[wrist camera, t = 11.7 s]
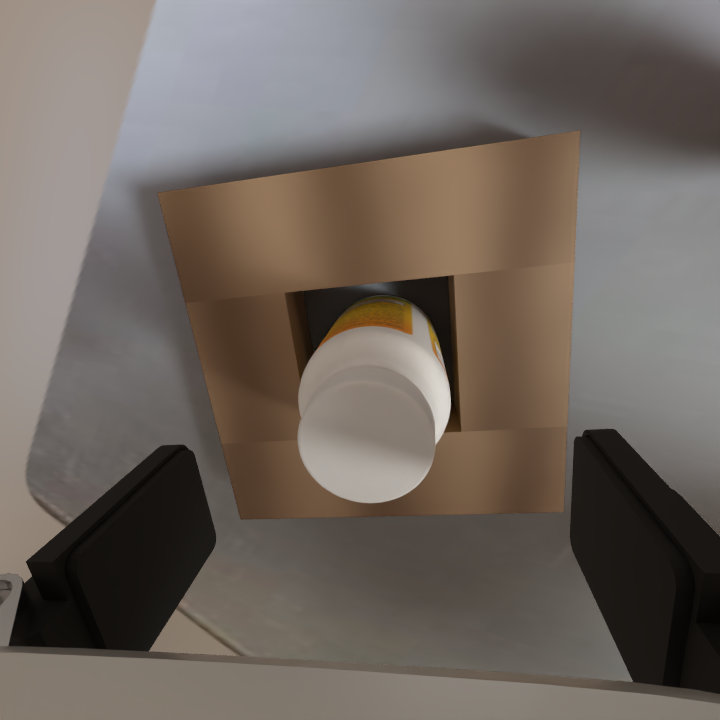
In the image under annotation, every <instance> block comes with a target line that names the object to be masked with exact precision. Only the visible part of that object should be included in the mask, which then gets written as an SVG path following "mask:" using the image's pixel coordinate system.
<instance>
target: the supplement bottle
mask: <svg viewBox="0 0 720 720" xmlns="http://www.w3.org/2000/svg"><path fill="white" fill-rule="evenodd" d="M298 404H299V411H300V416H301V420H300V423H299V427H298V436H297V438H298V448H299V453H300V456H301V459H302V461H303V463H304V466H305V467H306V469H307V470H308V472H309V473H310V475H311V476H312V477H313V478H314V479H315V481H317V482H318V483H319V484H320V485H321V486H322V487H323V488H325V489H326V490H328V491H330V492H331V493H333V494H335V495H337V496H339V497H341V498H344V499H347V500H351V501H355V502H361V503H381V502H386V501H390V500H393V499H396V498H399V497H401V496H403V495H405V494H407V493H409V492H410V491H411V490H413V489H414V488H415V487H417V486H418V485H419V484H420V482H421V481H422V480H423V479H424V478H425V476H426V475H427V473H428V471H429V469H430V468H431V465H432V462H433V459H434V455H435V448H436V444H437V443H438V441H439V440H440V438H441V437H442V435H443V433H444V430H445V428H446V426H447V423H448V419H449V415H450V409H451V397H450V387H449V382H448V377H447V374H446V370H445V366H444V361H443V358H442V353H441V349H440V344H439V341H438V337H437V334H436V331H435V329H434V326H433V324H432V323H431V321H430V319H429V318H428V316H427V315H426V314H425V313H424V312H423V311H422V310H421V309H420V308H419V307H417V306H416V305H415V304H413V303H411V302H410V301H408V300H405V299H403V298H400V297H396V296H390V295H376V296H371V297H367V298H364V299H362V300H359V301H357V302H356V303H354V304H352V305H351V306H350V307H349V308H347V309H346V310H345V311H344V312H343V313H342V314H341V315H340V317H339V318H338V319H337V321H336V322H335V323H334V325H333V326H332V328H331V329H330V331H329V332H328V334H327V335H326V336H325V338H324V339H323V340H322V342H321V343H320V345H319V347H318V348H317V350H316V351H315V352H314V354H313V355H312V357H311V358H310V360H309V362H308V363H307V366H306V368H305V370H304V372H303V375H302V378H301V382H300V387H299V393H298Z"/></svg>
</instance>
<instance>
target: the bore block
mask: <svg viewBox="0 0 720 720" xmlns="http://www.w3.org/2000/svg"><path fill="white" fill-rule="evenodd" d="M579 149H580V131H573V132H567V133H560V134H553V135H546V136H539V137H533V138H526V139H519V140H512V141H505V142H499V143H492V144H485V145H478V146H471V147H465V148H458V149H451V150H444V151H438V152H431V153H424V154H417V155H410V156H404V157H397V158H390V159H383V160H376V161H370V162H363V163H356V164H349V165H342V166H336V167H329V168H322V169H315V170H309V171H302V172H295V173H288V174H281V175H275V176H268V177H261V178H254V179H247V180H241V181H234V182H227V183H220V184H213V185H207V186H200V187H193V188H186V189H179V190H173V191H166V192H159V193H157V194H158V198H159V201H160V205H161V209H162V213H163V217H164V221H165V225H166V229H167V233H168V237H169V241H170V245H171V249H172V252H173V256H174V260H175V264H176V268H177V272H178V276H179V280H180V284H181V288H182V292H183V296H184V299H185V303H186V307H187V311H188V315H189V319H190V323H191V327H192V331H193V335H194V339H195V343H196V347H197V350H198V354H199V358H200V362H201V366H202V370H203V374H204V378H205V382H206V386H207V390H208V394H209V397H210V401H211V405H212V409H213V413H214V417H215V421H216V425H217V429H218V433H219V437H220V441H221V445H222V448H223V452H224V456H225V460H226V464H227V468H228V472H229V476H230V480H231V484H232V488H233V492H234V495H235V499H236V503H237V507H238V511H239V515H240V519H281V518H325V517H370V516H415V515H459V514H504V513H549V512H564V490H565V468H566V445H567V422H568V399H569V377H570V354H571V331H572V308H573V286H574V263H575V240H576V217H577V195H578V172H579ZM440 276H448V290H449V309H450V329H451V348H452V367H453V387H454V404H451V409H450V415H449V419H448V423H447V426H446V428H445V430H444V433H443V435H442V437H441V438H440V440H439V441H438V443H437V444H436V448H435V455H434V459H433V462H432V465H431V468H430V469H429V471H428V473H427V475H426V476H425V478H424V479H423V480H422V481H421V482H420V484H419V485H418V486H417V487H415V488H414V489H413V490H411V491H410V492H409V493H407V494H405V495H403V496H401V497H399V498H396V499H393V500H390V501H386V502H381V503H361V502H355V501H351V500H347V499H344V498H341V497H339V496H337V495H335V494H333V493H331V492H330V491H328V490H326V489H325V488H323V487H322V486H321V485H320V484H319V483H318V482H317V481H315V479H314V478H313V477H312V476H311V475H310V473H309V472H308V470H307V469H306V467H305V466H304V463H303V461H302V459H301V456H300V453H299V448H298V438H297V436H298V427H299V423H300V420H301V416H300V411H299V404H298V393H299V387H300V382H301V378H302V375H303V372H304V370H305V368H306V366H307V363H308V362H309V360H310V358H311V357H312V355H313V348H312V342H311V336H310V329H309V323H308V317H307V311H306V305H305V299H304V293H303V291H306V290H315V289H325V288H335V287H344V286H354V285H363V284H373V283H383V282H392V281H402V280H411V279H421V278H431V277H440Z"/></svg>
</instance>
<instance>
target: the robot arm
mask: <svg viewBox="0 0 720 720" xmlns="http://www.w3.org/2000/svg"><path fill="white" fill-rule="evenodd" d="M570 541H571V546H572V550H573V552H574V555H575V557H576V559H577V561H578V563H579V566H580V568H581V570H582V572H583V574H584V576H585V579H586V581H587V583H588V585H589V587H590V589H591V591H592V594H593V596H594V598H595V600H596V602H597V604H598V607H599V609H600V611H601V613H602V615H603V617H604V620H605V622H606V624H607V626H608V628H609V630H610V633H611V635H612V637H613V639H614V641H615V643H616V645H617V648H618V650H619V652H620V654H621V656H622V658H623V661H624V663H625V665H626V667H627V669H628V671H629V674H630V676H631V678H632V680H633V682H624V681H611V680H599V679H587V678H574V677H562V676H549V675H537V674H525V673H509V672H493V671H478V670H462V669H446V668H430V667H414V666H398V665H382V664H366V663H349V662H332V661H314V660H297V659H280V658H262V657H244V656H226V655H206V654H188V653H187V654H186V653H167V652H149V650H150V648H151V647H152V645H153V644H154V642H155V640H156V639H157V637H158V636H159V634H160V632H161V631H162V629H163V628H164V626H165V625H166V623H167V622H168V620H169V618H170V617H171V615H172V614H173V612H174V611H175V609H176V607H177V606H178V604H179V603H180V601H181V599H182V598H183V596H184V595H185V593H186V592H187V590H188V588H189V587H190V585H191V584H192V582H193V581H194V579H195V577H196V576H197V574H198V573H199V571H200V570H201V568H202V566H203V565H204V563H205V562H206V560H207V559H208V557H209V555H210V554H211V552H212V551H213V549H214V547H215V543H216V533H215V529H214V525H213V521H212V518H211V514H210V510H209V507H208V503H207V499H206V496H205V492H204V488H203V484H202V481H201V477H200V473H199V470H198V466H197V462H196V459H195V455H194V453H193V452H192V451H191V450H189V449H188V448H187V447H186V446H185V445H164V446H160V447H159V448H158V449H156V450H155V451H154V452H153V453H152V454H151V455H149V456H148V457H147V458H146V459H145V460H144V461H142V462H141V463H140V464H139V465H138V466H137V467H135V468H134V469H133V470H132V471H131V472H130V473H128V474H127V475H126V476H125V477H124V478H123V479H121V480H120V481H119V482H118V483H117V484H116V485H114V486H113V487H112V488H111V489H110V490H109V491H107V492H106V493H105V494H104V495H103V496H102V497H100V498H99V499H98V500H97V501H96V502H95V503H93V504H92V505H91V506H90V507H89V508H88V509H86V510H85V511H84V512H83V513H82V514H81V515H80V516H78V517H77V518H76V519H75V520H74V521H73V522H71V523H70V524H69V525H68V526H67V527H66V528H64V529H63V530H62V531H61V532H60V533H59V534H57V535H56V536H55V537H54V538H53V539H52V540H50V541H49V542H48V543H47V544H46V545H45V546H44V547H42V548H41V549H40V550H39V551H38V552H37V553H35V554H34V555H33V556H32V557H31V558H29V559H28V560H27V561H26V563H27V565H28V568H29V570H30V572H31V574H32V577H31V578H30V579H29V580H28V581H27V582H26V583H24V582H23V580H22V578H21V577H20V576H19V575H17V574H10V573H8V574H2V575H0V720H720V537H719V535H718V534H717V533H716V532H715V531H714V530H713V529H712V528H711V527H710V526H709V525H708V524H707V523H706V522H705V521H704V520H703V519H702V518H701V517H700V516H699V514H698V513H697V512H696V511H695V510H694V509H693V508H692V507H691V506H690V505H689V504H688V503H687V502H686V501H685V500H684V499H683V498H682V497H681V496H680V495H679V494H678V493H677V492H676V491H674V490H672V489H671V488H670V487H669V486H668V485H667V484H666V483H665V482H664V481H663V480H662V479H661V478H660V477H659V476H658V475H657V473H656V472H655V471H654V470H653V469H652V468H651V467H650V466H649V465H648V464H647V463H646V462H645V461H644V460H643V459H642V457H641V456H640V455H639V454H638V453H637V452H636V451H635V450H634V449H633V448H632V447H631V446H630V445H629V444H628V443H627V442H626V440H625V439H624V438H623V437H622V436H621V435H620V434H619V433H618V432H617V431H616V430H614V429H597V430H585V431H584V432H583V435H582V437H576V438H575V440H574V456H573V479H572V501H571V524H570Z"/></svg>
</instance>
